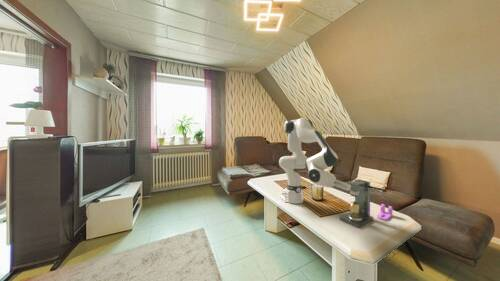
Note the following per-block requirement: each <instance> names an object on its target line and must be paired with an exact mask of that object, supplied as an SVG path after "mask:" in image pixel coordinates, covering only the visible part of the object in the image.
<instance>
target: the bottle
mask: <svg viewBox="0 0 500 281" xmlns="http://www.w3.org/2000/svg"><path fill="white" fill-rule="evenodd" d="M349 204H350V205H349V211H350V212H349V213H350V217H351V218H354V219H359V204H358V203H356V202H355V200H353V201H350V203H349Z"/></svg>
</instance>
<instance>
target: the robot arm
mask: <svg viewBox="0 0 500 281" xmlns="http://www.w3.org/2000/svg"><path fill="white" fill-rule="evenodd" d="M313 126H314V125H313V122H312V120H311V119H307V118H305V117H301V118H298V119H291V120H290V119H288V120H285V122H284V123H283V130H284V133H286V134H288V135H287V150H288V151H289V152H291V153H293V154H294V155H284V156H281V157H280V158H279V160H278V165H279V167H280V168H281V169H282V170H284V172H285V174H286V178H287V183H286V187H285V188H284V189H283V190H282V194H280V195H279V197H280V198H281V199H282V201H284V203H288V204H295V205H296V204H302V203H303V202H304V195H303V190H302V189H303V186H302V177H301V175H300V173H298V172H296V171H294V170H295V169H297V170H299V169H301V170H302V169H305V170H306V173H307V177H308V179H309V181H310V182H312V184H315V185H317V186H322V187H324V188H333V187H337V188H339V189H342V190H345V191H348V192H349V191H350V188H351V185H350V184H348V182H347V183H346V182H344V181H341V180H339V179H337V177H336V176H335V174H333V173H331V172H329V171H325V169H327V168H331V167H334V166H336V165H337V164H338V161H339V157H338V154H337V153H336V152H335V151H334V150H333V148H332V147H331V145H329V143H328V142H327V140H326V139H325V137H324V136H323V134H322V133H320V131H318V130H314V129H313V128H314V127H313ZM302 143H305V144H311V143H318V146H320V147H321V151H320V152H318V153H316V154H315V155H312V156H310V157H308V156H306V155H305V154H304V152H303V149H302Z"/></svg>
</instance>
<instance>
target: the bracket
mask: <svg viewBox="0 0 500 281" xmlns="http://www.w3.org/2000/svg"><path fill="white" fill-rule="evenodd" d="M392 217H393V206H391V205H389V206H388V208H387V211H386V205H385V204H384V203H381V205H380V212H379V213H378V214H377V215H376V218H377V219H378V220H381V221H386V222H387V221H389V220H390V219H391V218H392Z"/></svg>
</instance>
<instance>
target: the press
mask: <svg viewBox="0 0 500 281" xmlns="http://www.w3.org/2000/svg"><path fill="white" fill-rule="evenodd" d="M347 184H350V185H351V188H350V190H349V191H350V192H349V194H350V196H351V197H354V201H355V202H356V203H358V204H359V219H354V218H351V217H350V212H347V213H345V214H343V215H341V216H339V221H341V222H342V223H343V222H344V223H345V224H348V225H350V226H352V227H355V228H357V229H360V228H362V227H363V226H365V225H367V224H369V223H371V222H373V221H374V216H371V213H370V212H371V189H372V190H377V191H381V192H382V193H387V188H385V187H384V188H380V187H376V186H372V185H371V181H367V180H362V179H358V178H357V179H355V180H353V181H350V182H347Z"/></svg>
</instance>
